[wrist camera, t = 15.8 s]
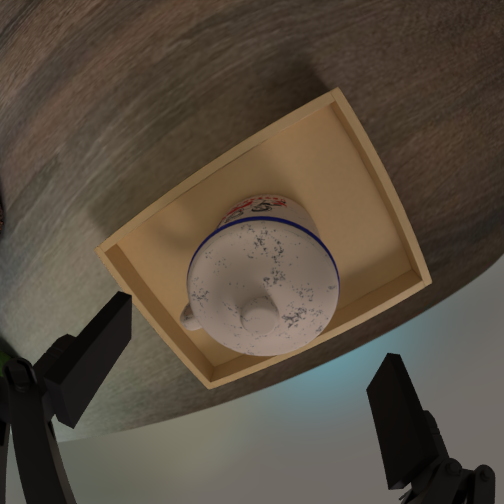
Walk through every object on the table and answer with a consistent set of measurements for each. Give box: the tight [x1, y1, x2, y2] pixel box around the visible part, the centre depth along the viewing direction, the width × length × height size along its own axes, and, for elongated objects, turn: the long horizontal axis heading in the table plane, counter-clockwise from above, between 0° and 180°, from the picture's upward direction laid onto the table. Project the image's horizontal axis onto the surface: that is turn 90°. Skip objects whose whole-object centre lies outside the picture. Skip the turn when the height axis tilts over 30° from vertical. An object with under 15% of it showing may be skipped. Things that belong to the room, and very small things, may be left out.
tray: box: [94, 87, 432, 389], centre depth 26 cm, size 24×18×3 cm
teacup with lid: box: [180, 194, 340, 356], centre depth 21 cm, size 12×9×12 cm
